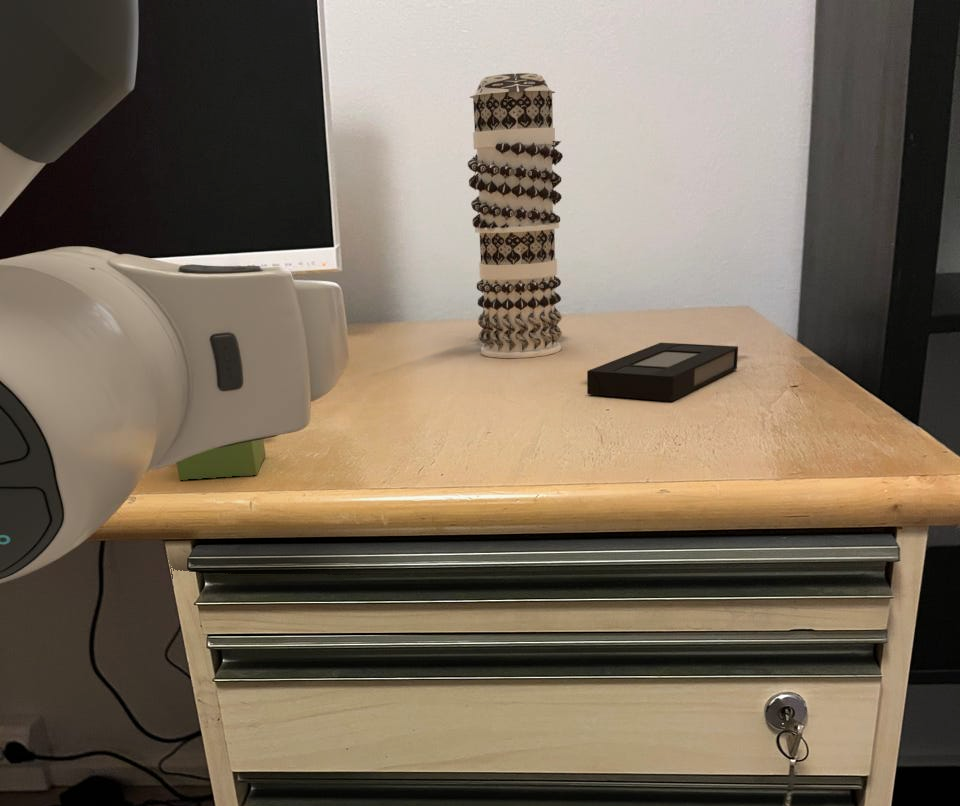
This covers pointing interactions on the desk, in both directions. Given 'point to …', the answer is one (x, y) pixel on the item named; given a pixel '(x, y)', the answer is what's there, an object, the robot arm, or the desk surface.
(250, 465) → the bar
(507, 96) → the decorative candle
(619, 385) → the vhs tape
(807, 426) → the desk surface
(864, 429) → the desk surface
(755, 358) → the desk surface
